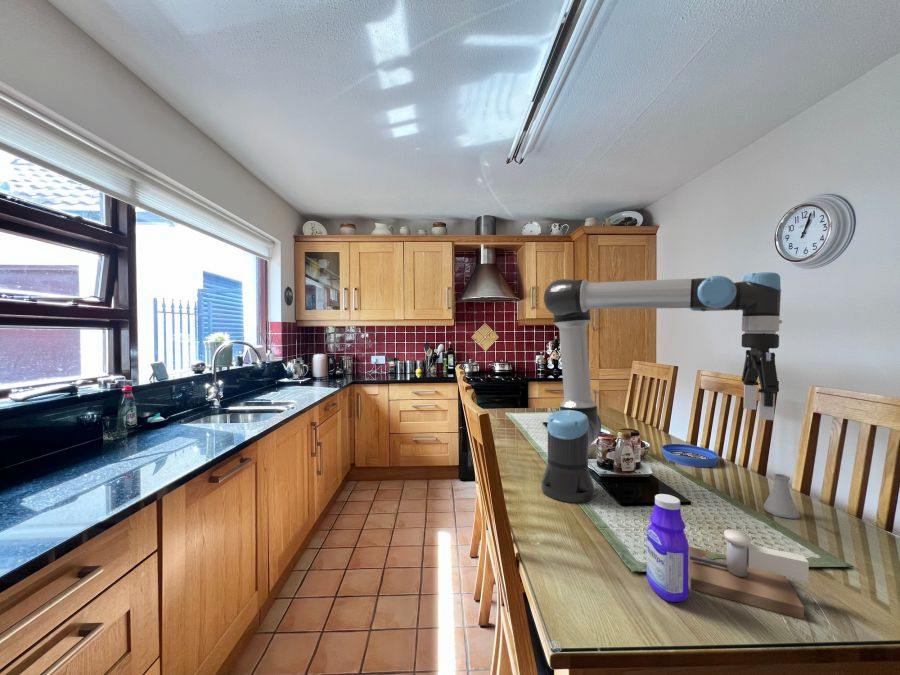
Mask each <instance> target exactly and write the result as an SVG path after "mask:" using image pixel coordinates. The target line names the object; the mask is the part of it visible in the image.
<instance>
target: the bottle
mask: <svg viewBox="0 0 900 675" xmlns="http://www.w3.org/2000/svg"><path fill="white" fill-rule="evenodd" d="M653 507H654V508H653V511H652V514H651V515H650V516H649V521H650V522H651V523H650V524H649V525H648V527H647V530H646V579H647V582H648V585H649V586H650V587H651V589H652V591H654V593H656V594H657V595H658V596H659V597H660V598H662V599H663V600H664V601H666V602H673V603H674V602H675V603H676V602H677V603H678V602H685V601H686V600H687V598H688V596H689V577H688V561H689V547H690V546H689V543H688V542H689V541H688V539H687V536H686V533H685V531H684V530H685V529H686V524H685V522H684V519H683V518H682V512H681V500H680V499H679V498H678V497H676V496H673V495H672V494H667V493H666V494H665V493H659V494H656V495H654V506H653Z"/></svg>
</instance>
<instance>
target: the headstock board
mask: <svg viewBox="0 0 900 675" xmlns="http://www.w3.org/2000/svg"><path fill="white" fill-rule="evenodd" d="M690 555H694V556H698V557H702V558H706V559H711V560H715V561H719V562H723V563H726V554H723V553H718V552H714V551H709V550H706V549H700V548H697V547H692V546H689V557H690ZM688 579H689V580H688V584H689V587H690V590H694V591H697V592H700V593H705V594H708V595H712V596H716V597H718V598H719V597H720V598H723V599H727V600H731V601H733V602H734V601H735V602H738V603H740V604H741V603H742V604H746V605H748V606H752V607H756V608H759V609H764V610H767V611H771V612H774V613H775V612H776V613H778V614H782V615H786V616H788V617H789V616H790V617H793V618H798V619H801V620H805V619H804V618H805V608H804V607H805V606H804V605H803V604H802V601H801V600H800V598H799V597H798V596H797V594H796V592H795V590H794V588H793V587H792V585H791V584H790V582H789V580H788V578H787V576H783V575H778V574H774V573H770V572H765V571H761V570H757V569H753V568H749V567H748V565H747V576H745V577H741V576H737V575H734V574H732V573H730V572H729V571H728V570H727V569H726V568H724V567H720V566H715V565H711V564H707V563H703V562H699V561H695V560H690V558H689V561H688Z"/></svg>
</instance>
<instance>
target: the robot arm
mask: <svg viewBox="0 0 900 675" xmlns="http://www.w3.org/2000/svg"><path fill="white" fill-rule="evenodd" d="M781 286H782V285H781V276H780V274H778V273H777V272H771V271H769V272H768V271H767V272H764V271H763V272H762V271H761V272H755V273H753V272H752V273H747V274H744V276H743V278H742V281H737V282H734V281H733V280H732V279H730V278H729V277H726V276H723V275H711V276H709V277H704V278H702V277H700V278H699V277H698V278H675V279H674V278H673V279H652V280H629V281H628V280H627V281H624V280H623V281H604V282H602V281H601V282H600V281H599V282H589V281H588V280H587V279H568V278H562V279H556V280H554V281H552V282H551V283H549V285H547V287H546V289H545V290H544V294H543V303H544V306H545V307H546V309H547V311H549V312H550V313H551V314H552V315H553V324H554V325H555V326H556V328H558V330H559V332H558V333H559V343H560V344H559V346H560V347H559V348H560V359H561V360H560V361H561V371H562V372H561V373H562V374H561V375H562V385H563V386H562V389H563V401H561V403H560V404H559V410H556V411H554V412H552V413H551V414H549V416H548V419H547V426H546V428H547V429H546V430H547V463H546V467H545V471H544V472H543V476H542V477H541V478H542V479H541V481H540V482H541V485H540V486H541V491H542V493H543V494H544V495H546V496H547V497H549V498H552V499H553V500H558V501H561V502H567V503H584V502H589V501H591V500H592V499H593V498H594V497H595V486H594V483H593V479H592V477H591V473H590V471H589V447H590V445H592V444H593V443H594V442H595V441H597V439H598V437H599V436H600V434H601V431H602V420H601V417H600V415H599V414H598V404H597V403H596V402H595V401H594V400H593V399H592V387H591V376H590V374H591V373H590V363H589V362H590V361H589V349H588V335H587V326H588V325H589V324H590V322H591V310H611V309H613V310H619V309H623V310H625V309H627V310H628V309H634V310H635V309H643V310H644V309H690V311H694V312H696V311H697V312H715V311H741V312H742V314H741V315H742V316H741V331H742V332H744V333H742V334H741V347H742V348H747V349H746V350H745V360H744V366H743V370H742V374H741V375H742V376H741V382H742V383H743V409H745V410H757V402H758V401H757V400H758V399H757V397H758V396H757V395H758V394H759V405H758V406H759V409H758V410H759V411H758V414H759V415H758V419H759V420H766V421H775V405H776V404H775V401H776V400H775V399H776V397H775V396H776V393H779V391H780V387H779V382H778V376H777V375H778V373H777V367H776V354H775V352H770V349H778V348H779V346H780V335H779V333H777V332H779V331H780V324H782V323H783V320H781V319H780V318H781V317H780V316H781V314H780V313H781V300H782V298H781V296H782V289H781ZM748 348H749V349H748ZM758 379H759V381H758ZM759 385H760V388H758V386H759Z"/></svg>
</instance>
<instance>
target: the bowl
mask: <svg viewBox="0 0 900 675" xmlns="http://www.w3.org/2000/svg"><path fill="white" fill-rule="evenodd" d="M661 451H662V456H663V457H664V458H665V459H666V460H668V461H670V462H672V463H676V464H679V465H682V466H687V467H688V466H689V467H693V466H694V467H696V468H711V467H715V466H716V465H717V462H718V460H719V454H718V453H717V452H716V451H713V450H712V449H709V448H706V447H702V446H697V445H691V444H683V443H668V444H664V445H662V446H661ZM672 452H682V453H679V454H680V455H676V454H677V453H672ZM687 453H692V454H691V455H693V454H696V455H695V456H698V455H700V456H699V457H701V456H703V458H704V457H706V459H701V458H696V457H691V456H688V455H683V454H687ZM707 458H708V459H707ZM714 465H715V466H714Z"/></svg>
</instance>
